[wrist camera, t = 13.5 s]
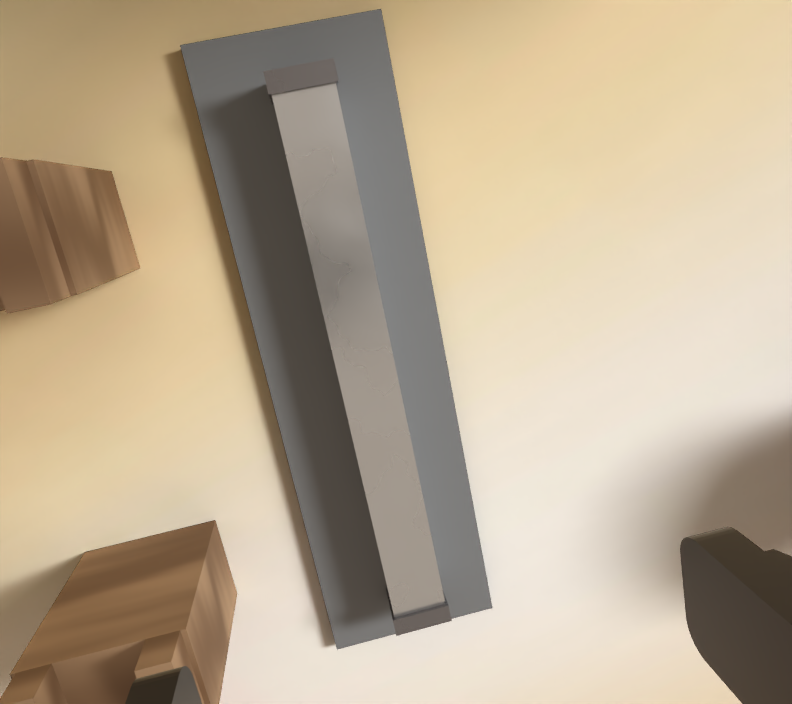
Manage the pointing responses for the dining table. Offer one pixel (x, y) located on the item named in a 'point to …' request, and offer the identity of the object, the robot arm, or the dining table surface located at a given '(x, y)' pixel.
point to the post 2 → (133, 622)
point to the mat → (303, 318)
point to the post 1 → (58, 232)
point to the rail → (358, 335)
